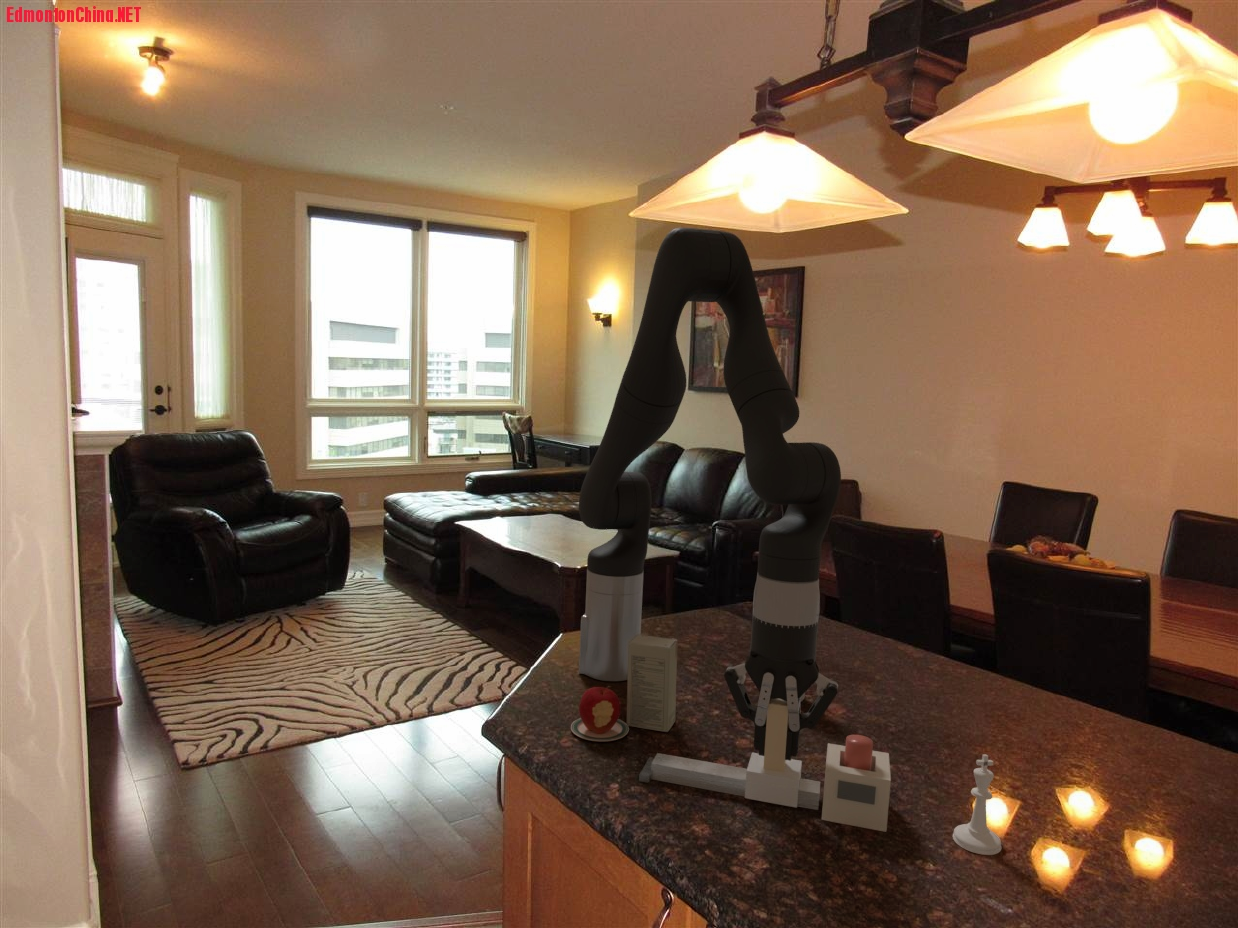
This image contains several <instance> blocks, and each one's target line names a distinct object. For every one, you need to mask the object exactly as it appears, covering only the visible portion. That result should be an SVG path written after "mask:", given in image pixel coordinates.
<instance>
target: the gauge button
mask: <svg viewBox="0 0 1238 928" xmlns="http://www.w3.org/2000/svg"><path fill="white" fill-rule="evenodd" d="M844 746H845V758H844V767H850V768H856V769H861V770H867V771H871V763H872V751H874V749H873V748H874V741H873V739H871V738H870V737H868V736H865V735H861V734H850V735H847V736H846V737H845V745H844Z"/></svg>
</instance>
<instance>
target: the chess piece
mask: <svg viewBox="0 0 1238 928" xmlns="http://www.w3.org/2000/svg"><path fill="white" fill-rule="evenodd" d="M975 764H976V765H977V766H980V767H977V768H974V769H973V776H974V779H975V784H976V787H973V788H972V789H971V791H970V794H971V795H972V797H973V796H974V797H975V803H974V807H973V811H972V815H971V819H970V821H969V822H968V823H963V824H959V825H957V826H955V827H954V830H953V832H952V839H953V840H954V841H953V842H955V843H956V845H958V846H959V847H961V848H962V849H963V850H966V851H967V852H971V853H974V854H978V855H983V856H993V855H997V854H999V853H1000V852H1001V851H1002V848H1003V847H1002V840H1001V838H1000V837H999V836H998V835H997V834H996V832H994V831H993V830H991V829H990V828H989V827H988V826H987V825H988V824H987V800H991V799H992V798H993V793H992V792H991V791H990V790H989V787H990V785H991V783H992V781H993V779H994V776H995V775H994V773H993V772H992V770H990V769H988V766H994V761H993V760H992V759H989V755H988V754H985V753H984V754H982V756H981V759H976V761H975Z"/></svg>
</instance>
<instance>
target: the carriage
mask: <svg viewBox="0 0 1238 928" xmlns="http://www.w3.org/2000/svg"><path fill="white" fill-rule="evenodd" d="M788 724H789V716H788V707H787V701H784V700H782V699H779V698H777V699H770V702H769V706H768V711H767V723H766V738H765V752H764V756H760V755H759V752H758V753H756V752H751V755H750V758H749V762H748V764H747V768H746V769H747V773H746V787H745V796H744V798H745V799H747V800H753V801H759V802H763V803H770V804H774V805H780V806H786V807H789V808H790V807H792V808H798V806H797V802H798V789H799V783H800V778H802V764H803V760H798V759H793V758H791V761H790V760H785V752H786V738H787V729H788Z"/></svg>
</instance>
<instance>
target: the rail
mask: <svg viewBox="0 0 1238 928" xmlns="http://www.w3.org/2000/svg"><path fill="white" fill-rule="evenodd" d="M746 773H747V768H745V767H744V768H743V767H739V766H734V765H728V764H722V763H715V762H710V761H706V760H699V759H694V758H687V757H683V756H676V755H671V754H665V753H660V752H659V753H658V752H657V753H656V754H655V756H654V757H652V756H649V757H648V759H647V760H646V762H645V764H644V766H643V767H642V769H641V770H640V773H639V774H638V776H639V777H638V782H641V783H650V780H653V781H659V782H663V783H664V782H665V783H670V784H676V785H681V786H686V787H692V788H698V789H703V790H706V791H707V790H708V791H713V792H719V793H724V794H729V795H735V796H740V797H745V787H746ZM820 791H821V781H818V780H812V779H808V778H807V779H806V778H802V777H801V778H800V783H799V789H798V802H797V808H798V807H800V808H803V809H809V810H814V811H818V810H819V802H820V794H821V792H820Z"/></svg>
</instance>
